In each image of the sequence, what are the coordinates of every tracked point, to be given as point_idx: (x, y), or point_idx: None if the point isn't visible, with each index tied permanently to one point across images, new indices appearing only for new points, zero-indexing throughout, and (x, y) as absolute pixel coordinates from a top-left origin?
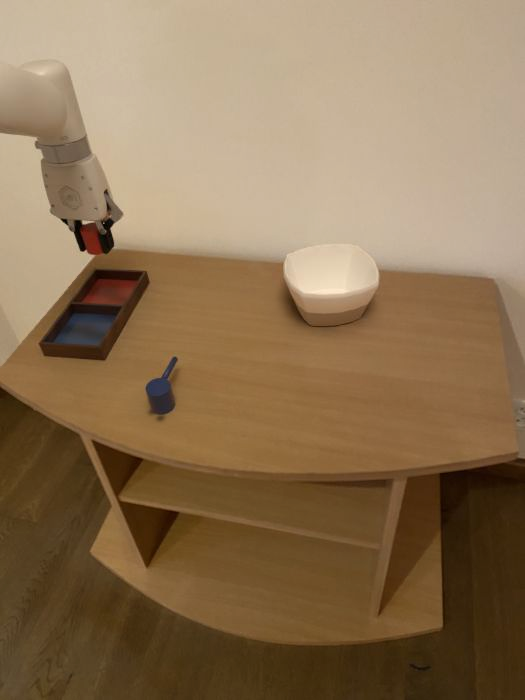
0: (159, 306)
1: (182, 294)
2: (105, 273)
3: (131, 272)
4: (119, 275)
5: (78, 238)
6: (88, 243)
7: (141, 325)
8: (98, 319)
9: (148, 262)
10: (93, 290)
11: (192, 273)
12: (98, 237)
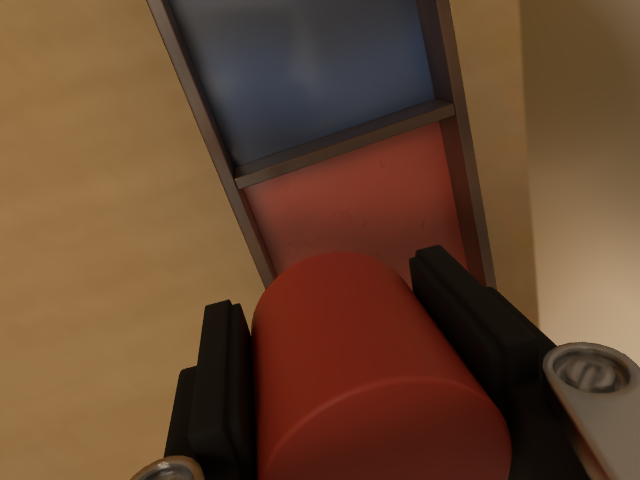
0: (171, 273)
1: (146, 356)
2: None
3: None
4: None
5: (471, 311)
6: (346, 305)
7: (149, 158)
8: (316, 104)
9: None
10: (449, 235)
11: None
12: (232, 401)
